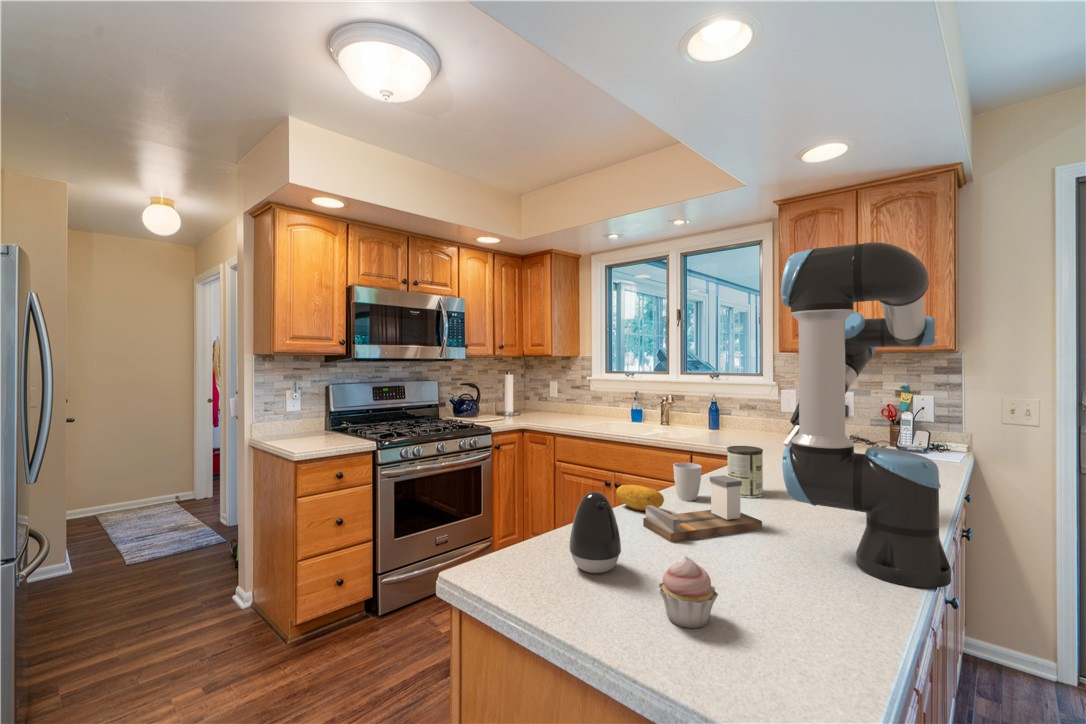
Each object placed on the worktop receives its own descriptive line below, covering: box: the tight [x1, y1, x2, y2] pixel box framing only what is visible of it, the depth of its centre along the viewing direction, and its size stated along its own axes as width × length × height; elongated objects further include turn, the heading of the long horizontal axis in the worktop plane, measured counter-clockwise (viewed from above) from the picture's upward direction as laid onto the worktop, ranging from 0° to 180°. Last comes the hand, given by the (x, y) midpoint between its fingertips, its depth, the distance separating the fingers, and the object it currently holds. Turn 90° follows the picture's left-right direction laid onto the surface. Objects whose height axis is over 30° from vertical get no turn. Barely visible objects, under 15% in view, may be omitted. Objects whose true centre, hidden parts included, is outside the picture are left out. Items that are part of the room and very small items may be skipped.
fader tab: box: [709, 475, 742, 520], centre depth 127 cm, size 5×6×9 cm
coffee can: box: [726, 445, 764, 499], centre depth 156 cm, size 10×10×14 cm
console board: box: [642, 505, 763, 543], centre depth 125 cm, size 26×12×5 cm, turn 110°
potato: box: [615, 484, 665, 512], centre depth 140 cm, size 8×14×7 cm, turn 44°
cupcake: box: [657, 555, 719, 629], centre depth 81 cm, size 9×9×10 cm
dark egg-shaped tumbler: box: [569, 491, 622, 574], centre depth 100 cm, size 10×10×15 cm
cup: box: [672, 462, 703, 502], centre depth 150 cm, size 8×8×10 cm
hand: (788, 446), depth 134 cm, fingers closed
